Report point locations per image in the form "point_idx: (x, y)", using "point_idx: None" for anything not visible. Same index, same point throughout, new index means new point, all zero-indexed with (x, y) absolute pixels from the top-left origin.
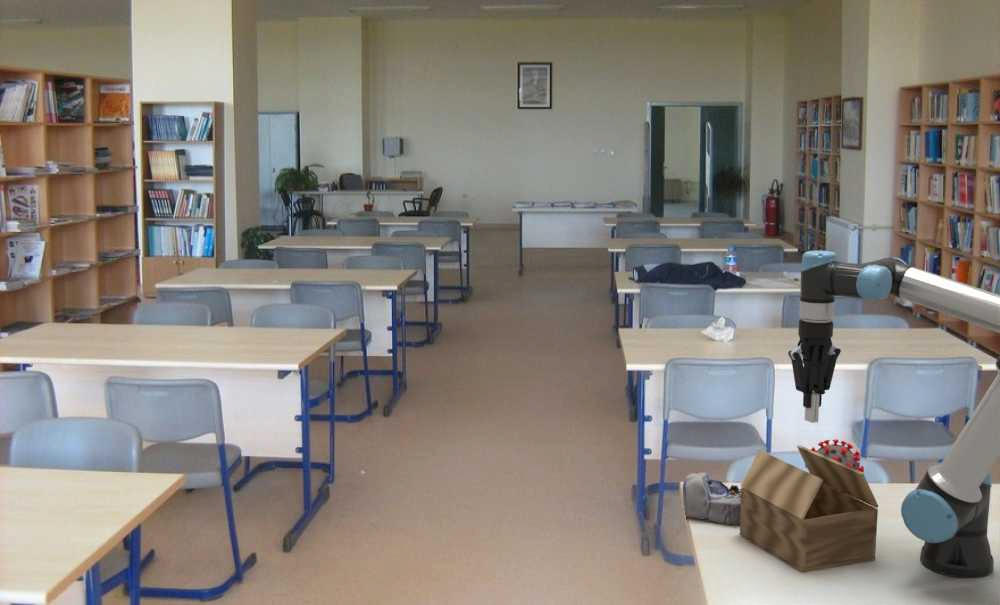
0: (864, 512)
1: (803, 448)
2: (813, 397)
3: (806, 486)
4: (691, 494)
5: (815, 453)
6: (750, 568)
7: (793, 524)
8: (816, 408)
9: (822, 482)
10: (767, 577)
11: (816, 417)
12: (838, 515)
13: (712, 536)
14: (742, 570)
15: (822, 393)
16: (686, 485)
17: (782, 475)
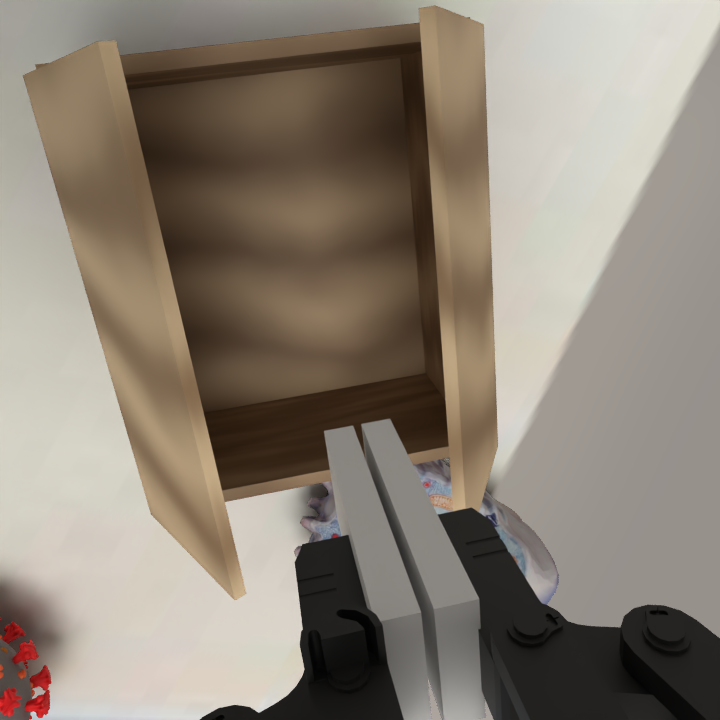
0: (122, 55)
1: (232, 554)
2: (462, 576)
3: (457, 100)
4: (537, 544)
5: (211, 470)
6: (537, 129)
7: None
8: (373, 499)
9: (15, 652)
10: (528, 44)
11: (351, 449)
12: (279, 38)
13: (509, 382)
14: (567, 120)
15: (337, 627)
16: (556, 574)
17: (469, 304)
